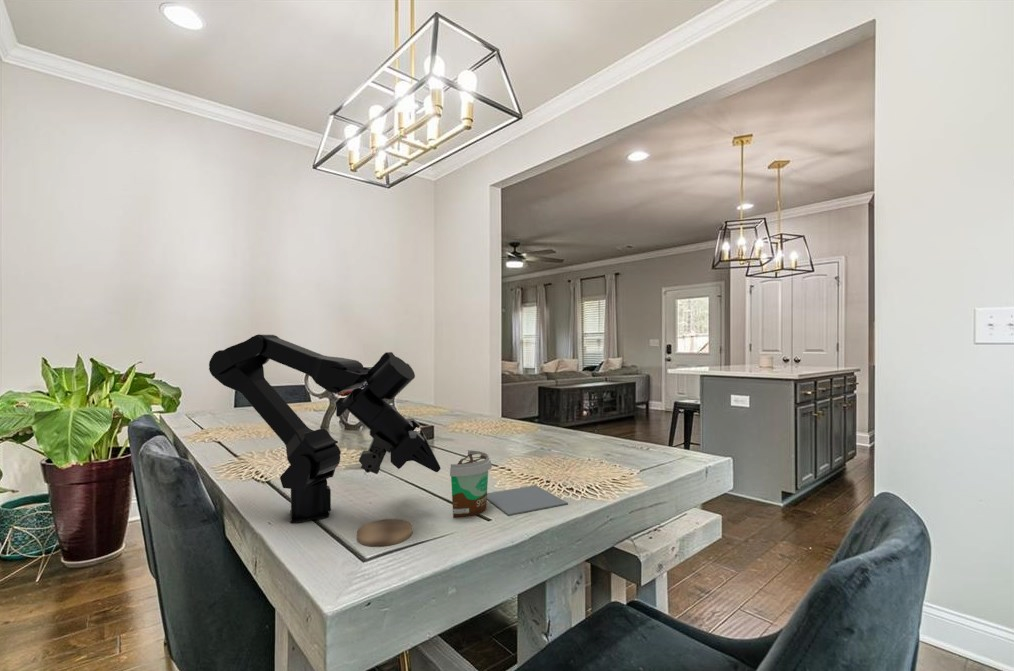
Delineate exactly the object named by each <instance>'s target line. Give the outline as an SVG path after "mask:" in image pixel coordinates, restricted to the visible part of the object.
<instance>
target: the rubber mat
mask: <svg viewBox="0 0 1014 671" xmlns="http://www.w3.org/2000/svg"><path fill="white" fill-rule="evenodd" d="M487 501H488V502H489V503H491V504H492V505H493V506H495V507H496V508H497V509H498V510H500V511H501V512H503V513H504V514H505V515H506V516H508V517H510V516H514V515H515V516H516V515H519V514H525V513H530V512H536V511H542V510H545V509H551V508H557V507H561V506H565V505H569V502H567V501H566V500H564V499H562V498H560V497H558V496H557V495H555V494H553V493H551V492H549V491H547V490H546V489H544V488H542V487H540V486H538V485H537V484H535V485H528V486H524V487H523V486H522V487H517V488H510V489H505V490H499V491H492V492H487Z"/></svg>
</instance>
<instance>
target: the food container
mask: <svg viewBox="0 0 1014 671" xmlns="http://www.w3.org/2000/svg"><path fill="white" fill-rule="evenodd" d="M492 467H493V466H492V461H491V459H490V457H489V454H488V453H486V452H484V451H479V450H472V449H471V450H467V455H466V456H465V457H464V458H461V459H460V460H459V461H458V463H456V464H455V463H454V464H453V463H451V464H450V468H449V477H450V480H451V481H450V482H451V500H452V502H451V503H452V517H453V519H454V518H455V519H456V518H457V519H461V518H469V517H470V518H471V517H476V516H478V515H480V514H483V513H485V511H486V510H487V503H488V502H487V501H488V500H487V493H488V483H489V482H488V480H489V471H490V470H491V469H492Z"/></svg>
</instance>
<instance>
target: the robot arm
mask: <svg viewBox="0 0 1014 671" xmlns="http://www.w3.org/2000/svg"><path fill="white" fill-rule="evenodd" d="M270 360H271V361H273V362H276V363H279V364H280V365H284V366H286V367H289V368H291V369H294V370H296V371H298V372H300V373H303V374H306V375H307V376H309V377H311V379H312V380H313V381H314V383H315V384H316V385H317V386H320V387H321V388H323V389H324V390H325V391H327V392H329V393H332V394H337V393H343V392H349V391H350V393H349V394H348V395H347V396H346V397H339V398H338V399H337V400H336V401H335V406H336V410H335V416H336V417H337V418H340V417H341V416H342V415H343V414H344V413H345V412H346V411H348V412H349V413H350V414H351V415H352V416H353V417H354V418H356V419H357V420H358V421H359V422H360V423H361V424H362V425H363V426H365V427H366V429H368V430H369V431H368V432H369V436H370V437H371V438H372V441H371V443H370V444H369V447H368V450H363V451H361V455H360V457H359V459H358V462H359V463H360V464H361V466H360V469H361V470H364V471H365V473H367V474H368V473H370V472H371V473H372V474H376V475H379V472H380V470H381V465H382V463H383V460H384V458H385V456H386V454H387V453H388V454H390V463H391V465H393V466H395V468H397V470H400V469H401V468H402V467H403V466H404V465H405V464H406V463H407V462H412V461H413V462H415V463H417V464H419V465H421V466H423V467H425V468H427V469H428V470H431V471H433V472H435V473H439V471H440V470H441V469H442V468H441V466H440V464H439V462H438V460H437V459H438V458H436V455H435V452H434V451H433V449H432V448H431V445H430V443H429V441H428V439H427V437H426V435H425V433H424V431H423V430H421V431H420V432H419V431H417V430H416V429H419V428H421V424H420V423H419V421H417V420H416V419H415V418H414V417H413V418H406V417H405V416H403V415H402V414H401V413H400V412H399V411H398V409H397V408H396V407H395V406H394V405H391V404H390V403H389V402H388V401H387V400H394V399H395V397H397V396H398V395H399V394H400V393H401V392H402V391H403V390H404V389H405V388H406V387H407V386H408V385H409V384H410V383H411V382H412V381H413V380H414V379H415V378H416V375H415V371H414V369H413V368H412V367H411V365H410V364H409V363H406V362H405V361H404V360H403V359H401V358H400V357H399V356H395V354H394V352H392V351H389V352H388V351H387V352H386V351H385V352H384V353H383V355H381V356H380V358H379V360H378V361H377V362H376V363H375V364H373V366H372V367H371V368H369V367H364V365H363V364H362V362H360V361H359V360H356V359H353V358H352V359H350V358H345V357H337V356H328V355H324V354H321V353H319V352H315V351H313V350H311V349H308V348H305V347H303V346H301V345H297V344H295V343H292V342H290V341H287V340H285V339H282V338H280V336H279V337H278V336H277V335H275V334H261V333H259V334H255V335H254V336H251V337H250V338H248V339H246V340H244V341H242V342H239V343H237V344H233V345H231V346H229V347H226V348H225V349H221V350H217V351H215V352H214V353H213V354H212V356H211V358H210V360H209V362H208V370H209V373H210V374H211V376H212V377H213V378H214V379H216V380H217V381H218V382H219V383H220V384H221V385H223V386H224V387H225V388H226V387H227V388H229V389H231V390H234V391H236V392H239V393H240V394H241V396H243V397H244V398H245V400H246V401H247V402H248V403H249V404H250V406H251V407H252V408H253V409H254V410H255V412H257V414H258V415H259V416H260V417H261V418H262V419H263V421H264V422H265V423H266V424H267V425H268V426H269V428H270V429H271V430H272V431H273V432H274V433H275V435H276V436H278V438H279V439H280V440H281V442H283V444H284V445H285V450H286V460H287V461H288V463H289V465H288V467H287V469H285V470H284V472H283V473H282V474H281V475H280V477H279V480H280V484H281V486H282V488H283V489H290V510H289V516H290V519H289V520H290V524H295V523H302V522H307V521H314V520H318V519H326V518H329V516H330V511H331V510H332V504H331V503H332V499H331V498H332V497H331V496H332V495H331V494H332V492H331V487H330V485H328V479H330V478H333V477H334V475H335V472H336V469H337V468H338V466H339V464H340V461H341V449H340V447H339V446H338V445H337V444H338V443H339V441H338V440H336V439H334V438H333V437H332V436H331V434H330V433H329V431H328V430H327V429H326V428H325V427H322V428H318V429H316V430H313V429H311V428H310V427H308V426H307V425H306V424H305V422H304V421H303V420H302V419H301V418H300V417H299V415H297V413H296V412H295V411H294V410H293V409H292V408H291V407H290V406H289V404H288V403H287V402H286V400H284V399H283V398H282V396H281V395H280V394H279V393H278V392H277V391H276V389H275V388H273V386H272V384H270V383H269V381H268V380H266V378H265V372H264V371H265V368H264V365H265V364H267V363H269V361H270ZM364 383H367V384H366V385H365V386H364V387H363V388H361V386H362V385H363V384H364ZM386 399H387V400H386Z"/></svg>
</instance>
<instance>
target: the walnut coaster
mask: <svg viewBox="0 0 1014 671" xmlns="http://www.w3.org/2000/svg"><path fill="white" fill-rule="evenodd" d="M412 535H413V524H412V522H410V521H408V520H405V519H399V518H385V519H379V520H374V521H370V522H368V523H365V524H364V525H362V526H360V527H359V528H358V529H357V531H356V540H357V542H358V543H359V544H361V545H363V546H367V547H375V546H379V547H387V545H389V546H393V545H397V544H399V543H403V542H404V541H407V540H408V539H409V538H411V537H412Z"/></svg>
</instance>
